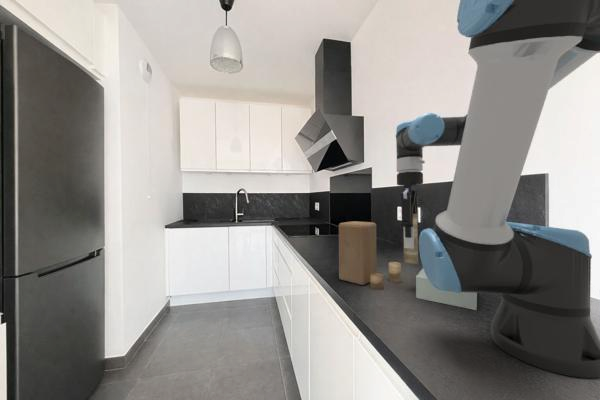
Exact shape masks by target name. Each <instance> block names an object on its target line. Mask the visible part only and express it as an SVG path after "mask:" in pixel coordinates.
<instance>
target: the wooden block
mask: <svg viewBox="0 0 600 400" xmlns="http://www.w3.org/2000/svg"><path fill="white" fill-rule="evenodd" d="M377 265H378V264H377V223H375V222H372V221H357V220H356V221H346V222H345V221H344V222H340V223H339V224H338V279H339V280H341V281H345V282H349V283H353V284H357V285H360V286H365V285H367V284H368V283H369V284H370V274H372V273H377V272H378V271H377V268H378V267H377Z"/></svg>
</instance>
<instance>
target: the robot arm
mask: <svg viewBox="0 0 600 400" xmlns="http://www.w3.org/2000/svg"><path fill="white" fill-rule="evenodd" d="M456 17H457V18H456V22H457V31H458V33H459V34H460V35H461V36H464V37H465V38H470V42H469V47H468V52H467V54H468V55H469V56H470V57H471V59H473V60H474V62H476V65H477V66H476V73H475V76H474V77H475V78H474V81H473V85H472V86H473V87H472V92H471V96H470V99H469V100H470V101H469V105H468V110H467V113H466V115H464V116H450V117H442V116H440V115H438V114H436V113H433V112H427V113H423V114H422V115H420V116H418V117H416V119H413V120H407V121H403V122H401V123H399V124H398V125H397V126H396V131H395V132H396V133H395V139H396V144H395V145H396V173H397V174H396V185H397V186H401V187H402V186H403V187H402V188H403V189H402V191H400V199H401V200H400V203H401V207H400V208H401V224H400V227H403V249H404V248H410V249H414V227H413V214H417V227H419V226H420V225H421V224H420V223H419V192H418V190H417V187H416V186H420V185H423V183H424V173H423V172H422V171H423V170H424V169H423V167H424V166H423V164H425V162H426V161H425V160H423V151H424V150H423V148H425V147H446V146H447V147H449V146H453V147H454V146H460V147H459V151H458V152H459V153H458V157H457V161H456V166H455V172H454V176H453V181H452V185H451V190H450V195H449V198H448V204H447V208H446V210H444V211H442V212H440V213H438V214H437V215H436V217H435V221H434V226H433V228H429V227H428V228H425V229H423V230H422V231H421V232H420V233H419V235H418V236H419V237H418V253H419V257H420V258H419V259H420V262H421V266H422V269H424V272H425V274H426V276H427V278H428V280H429V282H430V283H431V284H432V285H433V286H434V287H435V288H436V289H438V290H441V291H449V292H456V293H461V292H472V293H477V294H478V293H479V294H480V293H481V294H483V293H484V294H489V293H490V294H501V301H500V302H499V305H498V307H497V310H496V312H495V314H494V317H493V319H492V321H491V325H490V338H491V340H492V342H493V343H494V344H495V345H497V347H498V348H500V349H501V350H502V351H504V352H505V353H507V354H508V355H511V356H512V357H514V358H516V359H518V360H520V361H522V362H525V363H527V364H529V365H531V366H534V367H537V368H540V369H542V370H545V371H548V372H552V373H556V374H559V375H565V376H570V377H574V378H582V379H583V378H584V379H586V378H587V379H594V378H595V379H596V378H600V336H599V335H598V333H597V331H596V328H595V326H594V323H593V322H592V320H591V319H592V318H591V278H592V277H591V275H592V274H591V271H592V270H591V268H592V267H591V265H592V261H591V260H592V257H593V255H592V254H591V250H590V240H589V238H588V236H587V235H586V234H585V233H584V232H582V231H579V230H577V229H576V230H575V229H567V228H560V227H554V226H553V227H552V226H546V225H545V226H543V225H535V224H530V223H529V224H528V223H519V222H511V221H507V218H508V216H509V213H510V210H511V207H512V203H513V202H514V201H513V200H514V197H515V195H516V191H517V188H518V185H519V183H520V179H521V176H522V172H523V171H524V167H525V164H526V162H527V158H528V155H529V151H530V150H531V149H530V148H531V146H532V142H533V140H534V136H535V134H536V133H535V132H536V131H537V127H538V123H539V121H540V117H541V115H542V111H543V108H544V106H545V102H546V99H547V97H548V92H549V90H550V89H552V88H553V87H554V86H556V85H557V84H558V83H559V82H561V81H563V80H564V79H565V78H566V77H568V76H569V75H570V74H572V73H573V72H575V71H576V70H577V69H578V68H579V67H581V66H582V65H584V63H586V62H587V61H589V60H590V59H592V58H593V57H594V56H596V54H598V53H599V54H600V0H460V1H459V5H458V9H457V16H456Z"/></svg>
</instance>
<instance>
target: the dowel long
mask: <svg viewBox="0 0 600 400" xmlns="http://www.w3.org/2000/svg"><path fill="white" fill-rule="evenodd" d="M413 227H414V249H410V248H404V247H403V263H406V264H414V265H416V264H418V263H419V237H418V236H419V235H418V232H419V231H418V226H417V214H413Z"/></svg>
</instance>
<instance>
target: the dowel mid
mask: <svg viewBox="0 0 600 400" xmlns="http://www.w3.org/2000/svg"><path fill="white" fill-rule="evenodd" d="M388 281H389V282H390V283H394V284H395V283H396V284H399V283H402V263H400V262H398V261H390V262H388Z"/></svg>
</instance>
